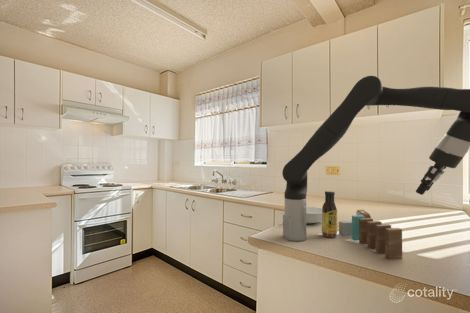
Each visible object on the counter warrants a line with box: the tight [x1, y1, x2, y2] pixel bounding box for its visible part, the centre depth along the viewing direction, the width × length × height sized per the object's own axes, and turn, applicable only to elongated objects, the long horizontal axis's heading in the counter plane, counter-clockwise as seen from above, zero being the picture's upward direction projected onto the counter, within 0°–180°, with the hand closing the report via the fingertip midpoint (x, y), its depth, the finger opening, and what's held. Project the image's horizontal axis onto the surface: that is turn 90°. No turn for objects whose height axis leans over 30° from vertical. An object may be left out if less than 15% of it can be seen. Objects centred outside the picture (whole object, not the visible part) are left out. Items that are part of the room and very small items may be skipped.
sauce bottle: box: [321, 190, 338, 238], centre depth 102 cm, size 6×6×20 cm
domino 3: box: [366, 220, 382, 250], centre depth 88 cm, size 2×5×10 cm, turn 97°
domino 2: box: [358, 217, 374, 245], centre depth 92 cm, size 2×5×10 cm, turn 97°
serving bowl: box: [306, 205, 322, 225], centre depth 126 cm, size 21×21×7 cm
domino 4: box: [375, 223, 392, 255], centre depth 83 cm, size 2×5×10 cm, turn 97°
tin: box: [355, 209, 372, 218], centre depth 113 cm, size 15×3×8 cm, turn 168°
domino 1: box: [351, 215, 365, 241], centre depth 97 cm, size 2×5×10 cm, turn 97°
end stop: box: [338, 220, 352, 237], centre depth 103 cm, size 3×9×6 cm, turn 97°
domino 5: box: [384, 227, 403, 260], centre depth 79 cm, size 2×5×10 cm, turn 97°
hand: (421, 191), depth 81 cm, fingers open, 8 cm apart
